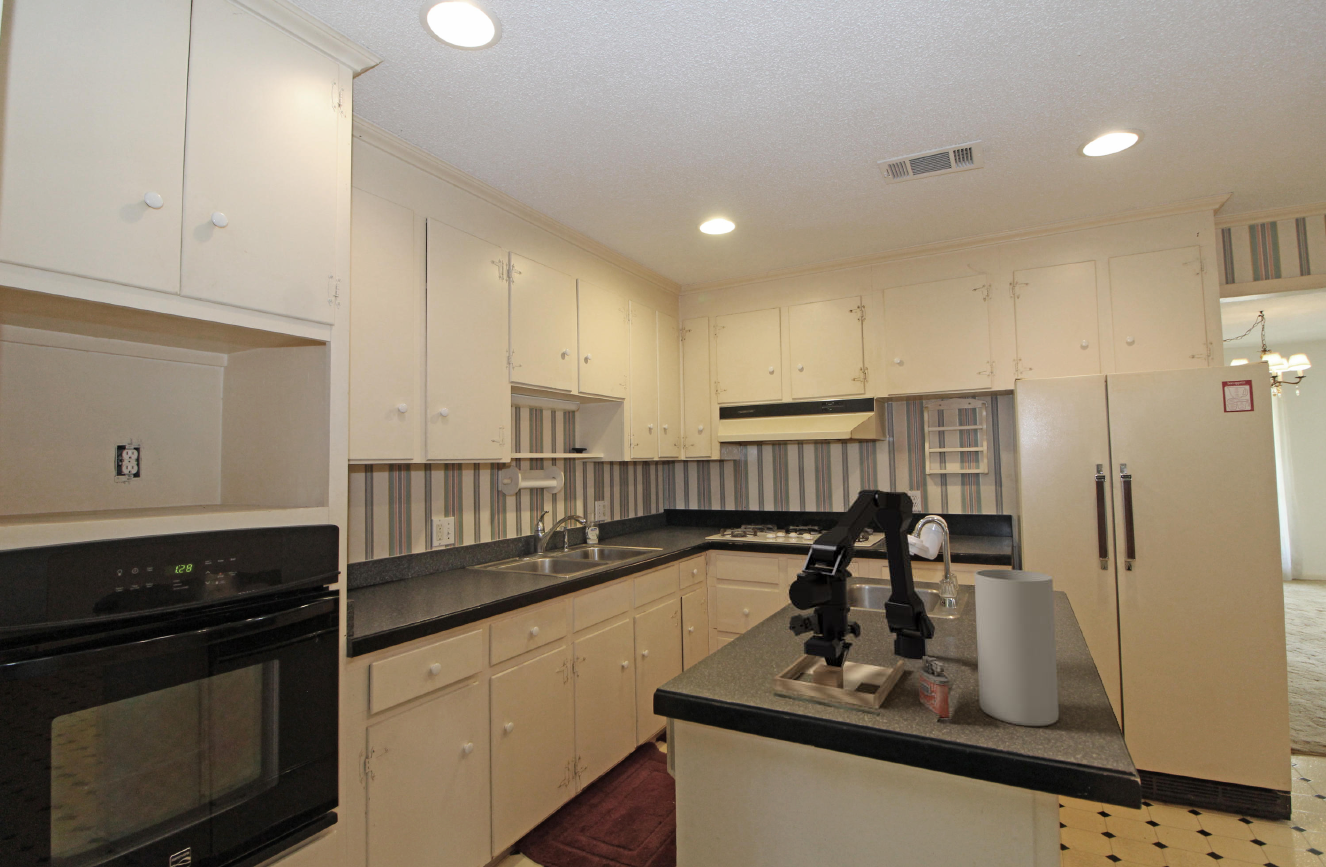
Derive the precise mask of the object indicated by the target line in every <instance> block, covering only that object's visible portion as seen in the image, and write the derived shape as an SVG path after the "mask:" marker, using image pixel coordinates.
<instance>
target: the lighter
mask: <svg viewBox="0 0 1326 867" xmlns="http://www.w3.org/2000/svg"><path fill="white" fill-rule="evenodd" d="M922 664H923V665H919V666H917V672H918V687H919V689H918V691H919V701H920V703H921V704H923V706H925V708H927V709H929V710H930V711H932V712H934V713H935V714H938V718H937V721H936V723H938V722H939V723H938V724H942V723H943V724H944V723H945V725H947V723H948V724H951V722H952V720H951V715H950V703H949V702H950V701H949V684H950V678H949V677H948V675H946V674H944V673H945V665H944V664H943V663H941V662H939V661H938V659H937V658H936V657H931V656H929V655H928V656H923V659H922Z"/></svg>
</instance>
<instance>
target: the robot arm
mask: <svg viewBox="0 0 1326 867" xmlns="http://www.w3.org/2000/svg"><path fill="white" fill-rule="evenodd" d="M856 497H857V498H856V499H855V501H854V502H853V503H852V504H851V505H850V506H849V508H848V509H847V511H846V512H845V513H844V515H843V516H842V518H841V519H840V520H839V521H838V523H837V524H836V526H834V527H833V528H832V529H829V530H827V531H824V532H823V533H821V534H820V535H819V536H817V538H815V539H814V541H813V542H812V543H811V544H812V545H811V546H810V549H809V552H808V555H807V557H806V560H805V562H804V565H803V566H802V570H801V572H798V573H797V574H796V580H794V581H793V582H792V583H790V584H791V585H790V586H789V589H788V597H789V600H790V602H791V604H792V606H794V607H795V608H796V609H797V610H799V611H807V610H811V609H813V612H809V613H805V614H801V613H799V614H797V615H795V614H794V615H792V616H791V617H790V620H789V621H788V624H789V626H788V629H789V631H792V632H793V634H794V636H795V637H799V636H801V635H802V634H806V633H810V632H811V633H812V632H813V635H812V636H811V637H809V638H808V639H806V641H804V643H803V654H807V655H814V656H816V657H820V658H824V659H825V661H826V664H827V665H829V666H836V667H842V668H843V666H844V664H845V662H847V658H848V656H849V654H850V652H851V649H852V648H853V646H854V644H853V642H847V641H846V636H848V635H853V637H854V638H855V639H858V638H859V637H860V636H861V625H860V624H859V623H858V622H857V621H855V620H849V617H848V615H849V613H850V612H851V606H850V605H848V584H847V579H849V578H852V577H853V573H852V572H851V571H850V570H848V569H847V568H848V567H849V566H850V564H851V562H852V560H853V559H854V556H855V554H856V547H855V544H856V542H857V541H858V540H859V537H860V536H861V534H862V533H863V532H864V531H865V529H866V528H867V527H868V525H869V523H870V522H871V521H872V519H873V518H874V520H875V522H876V523H877V524H878V526H879V527H880V528H881V530H882V531H883V534H884V543H885V549H886V557H887V566H888V572H889V578H890V579H889V580H890V590H891V594H890V595H889V597H888V599H887V600H886V601H885V602H884V605H883V606H884V611H885V619H886V622H887V625H888V631H889V633H890V634H896V636H895V637H896V638H894V640H893V652H894V653H893V654H894V655H895V656H898V657H901V658H903V659H909V660H923V656H928V657H929V653H928V652H929V651H928V648H929V647H928V640H932V639H933V637H935V629H936V627H935V625H934V623H933V621H932V620H931V619H930V617H929V615H928V614H927V611H926V608H925V603H924V601H923V600H922V599H921V597H920V595H919V594H918V593H917V591H916V589H915V583H914V574H913V567H912V560H911V558H912V557H911V553H910V552H911V551H910V545H909V537H908V527H909V525H910V523H911V521H912V520H913V517H914V515H913V509H914V500H913V499H912V496H910V495H909V494H908V493H907V492H905V491H884V490H880V489H862V490H859V491H858V493H857V496H856Z"/></svg>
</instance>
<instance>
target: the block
mask: <svg viewBox="0 0 1326 867" xmlns="http://www.w3.org/2000/svg"><path fill="white" fill-rule="evenodd" d="M812 678H813V679H812V680H813V681H812V684H818V685H823V686H829V687H835V688H840V689H844V688H843V668H842V667H836V666H829V665H823V664H820V665H819V666H818V667H816V668H815V669H814V670H813V674H812Z"/></svg>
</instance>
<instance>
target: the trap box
mask: <svg viewBox="0 0 1326 867" xmlns="http://www.w3.org/2000/svg"><path fill="white" fill-rule="evenodd" d="M820 664H823V665H827V664H826V661H825V659H824V657H820V656H814V655H807V654H805V653H803V655H801V656H800V657H798V658H797V660H795V661H794V662H792V663H791V664H790V665H789V666H788V667H786V668H785V669H783V671H781V672H779V673H778V674H777V675H776V676H774V678H773V689H774V690H778V691H779V690H780V691H784V692H790V693H794V694H798V695H799V694H800V695H807V696H811V697H817V698H822V699H827V700H831V701H838V702H842V703H843V702H844V703H846V704H847V703H848V704H853V705H859V706H864V707H868V708H873V709H874V708H875V709H879V708H880V707H881V704H883V702H884V701H885V699H886V698H887V696H888V695H889V693H890V692H891V691H892V689H893V688H894V686H895V685H896V683H897V682H898V680H899V679H900V678H901V677H902V675H903V673H904V672H905V661H904V660H899V661H898V663H897V664H896V665H895V667H893V668H892V667H891V668H890V667H885V666H877V665H873V664H865V663H860V662H859V663H857V662H854V661H853V662H851V661H846V662H845V664H844V666H843V688H844V689H840V688H835V687H829V686H823V685H818V684H813V682H812V683H811V682H806V681H800V680H795V679H797V678H798V676H800V675H801V674H802V673H803V674H808V675H813V670H814V669H815V668H816V667H818V666H819V665H820ZM861 684H866V685H867V684H868V685H872V686H878V687H879V688H877V690H876V691H875V693H874V694H873V693H867V692H861V691H856V690H857V688H859V687H860V686H861ZM773 696H774V697H776V698H782V699H786V698H788V699H787V700H791V699H792V700H793V701H796V700H797V701H798V702H801V701H802V703H807V702H808V703H807V704H812V705H817V706H822V705H823V707H827V708H832V707H834V708H833V709H837V708H838V709H837V710H842V709H844V711H848V710H851V711H850V712H853V711H856V712H855V713H858V712H862V713H861V714H863V713H867V714H866V715H868V714H873V715H876V716H875V717H880V715H881V712H878V711H877V712H876V711H871V710H868V709H867V710H866V709H861V708H857V707H856V708H855V707H851V706H847V705H846V706H845V705H840V704H834V703H830V702H827V701H826V702H825V701H819V700H814V699H809V698H804V697H799V696H794V695H790V694H784V693H777V692H774V693H773ZM797 701H796V702H797ZM845 709H846V710H845ZM879 714H880V715H879ZM873 715H872V716H873Z"/></svg>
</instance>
